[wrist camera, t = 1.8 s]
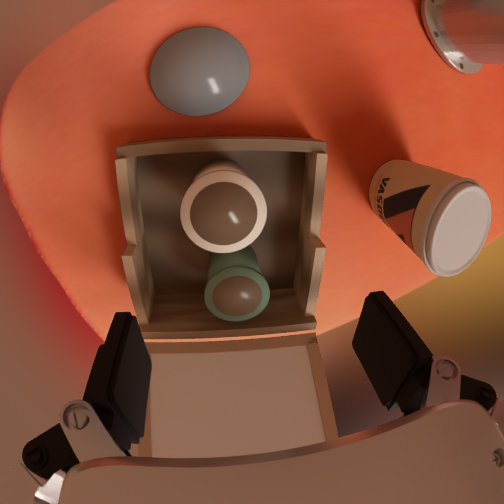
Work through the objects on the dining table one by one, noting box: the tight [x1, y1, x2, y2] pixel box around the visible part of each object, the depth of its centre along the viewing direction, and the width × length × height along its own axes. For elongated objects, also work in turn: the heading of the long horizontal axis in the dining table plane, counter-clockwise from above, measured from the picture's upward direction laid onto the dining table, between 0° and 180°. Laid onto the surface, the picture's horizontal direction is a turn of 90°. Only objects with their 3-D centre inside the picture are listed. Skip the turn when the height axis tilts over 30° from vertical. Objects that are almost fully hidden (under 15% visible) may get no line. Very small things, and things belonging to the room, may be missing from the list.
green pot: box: [204, 245, 270, 321], centre depth 27 cm, size 6×6×6 cm
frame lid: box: [138, 333, 338, 458], centre depth 21 cm, size 19×18×1 cm
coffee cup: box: [369, 159, 491, 276], centre depth 24 cm, size 9×9×12 cm
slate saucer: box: [150, 27, 250, 116], centre depth 21 cm, size 9×9×1 cm
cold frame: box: [115, 136, 328, 339], centre depth 25 cm, size 18×18×7 cm
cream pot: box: [180, 160, 267, 253], centre depth 23 cm, size 6×6×7 cm
